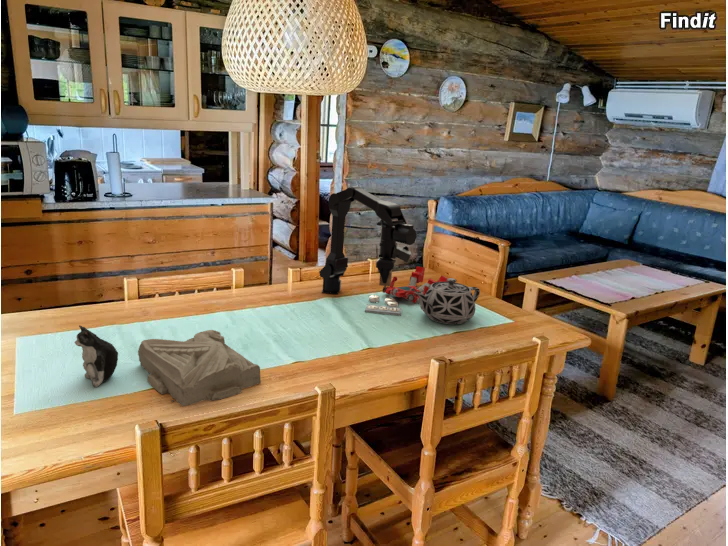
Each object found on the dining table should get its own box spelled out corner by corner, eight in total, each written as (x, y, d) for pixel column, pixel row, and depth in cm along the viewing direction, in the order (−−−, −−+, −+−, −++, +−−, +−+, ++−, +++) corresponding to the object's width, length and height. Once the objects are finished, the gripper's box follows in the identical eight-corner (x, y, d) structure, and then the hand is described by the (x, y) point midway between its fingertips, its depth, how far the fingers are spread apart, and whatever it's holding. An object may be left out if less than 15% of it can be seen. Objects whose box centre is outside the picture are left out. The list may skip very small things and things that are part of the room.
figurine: (70, 377, 143) (65, 322, 138) (109, 367, 149) (106, 314, 145) (83, 391, 136) (79, 334, 132) (124, 380, 143) (121, 325, 139)
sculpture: (177, 414, 130) (176, 380, 128) (129, 364, 152) (128, 335, 150) (271, 385, 146) (272, 355, 144) (215, 344, 169) (215, 317, 166)
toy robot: (454, 273, 231) (412, 283, 208) (451, 296, 233) (408, 307, 211) (419, 264, 242) (375, 272, 219) (417, 285, 244) (373, 295, 222)
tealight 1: (368, 302, 214) (368, 296, 213) (369, 299, 218) (369, 293, 217) (378, 303, 214) (379, 297, 213) (379, 300, 218) (380, 294, 217)
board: (365, 311, 203) (365, 309, 203) (366, 306, 209) (367, 303, 209) (400, 315, 202) (400, 312, 202) (401, 309, 208) (401, 307, 208)
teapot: (395, 316, 202) (398, 276, 197) (458, 305, 218) (463, 268, 214) (428, 334, 186) (433, 292, 182) (494, 321, 203) (499, 282, 199)
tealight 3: (386, 308, 209) (387, 302, 208) (387, 305, 213) (388, 298, 212) (397, 309, 209) (398, 303, 208) (398, 306, 212) (398, 299, 212)
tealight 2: (383, 304, 213) (384, 298, 212) (385, 301, 217) (386, 295, 216) (393, 306, 212) (394, 299, 211) (395, 303, 216) (396, 296, 215)
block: (379, 285, 201) (380, 271, 200) (380, 282, 205) (381, 269, 204) (390, 286, 201) (391, 272, 199) (391, 283, 205) (392, 270, 203)
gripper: (410, 247, 189) (406, 291, 193) (412, 236, 207) (408, 276, 211) (377, 244, 190) (374, 288, 194) (382, 233, 208) (379, 274, 212)
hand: (385, 281), depth 203 cm, fingers closed on block, 4 cm apart
